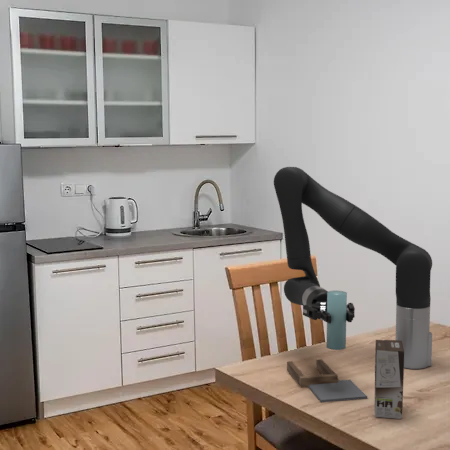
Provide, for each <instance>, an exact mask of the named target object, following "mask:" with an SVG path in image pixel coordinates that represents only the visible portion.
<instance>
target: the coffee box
mask: <svg viewBox="0 0 450 450" xmlns="http://www.w3.org/2000/svg"><path fill="white" fill-rule="evenodd" d="M374 347H375V352H374V353H375V354H374V417H375V418H385V419H397V420H401V419H403V404H404V403H403V402H404V401H403V399H404V379H405V378H404V375H405V372H404V371H405V368H404V352H405V351H404V347H403V343H402V341H400V340H395V339H375V346H374Z"/></svg>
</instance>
